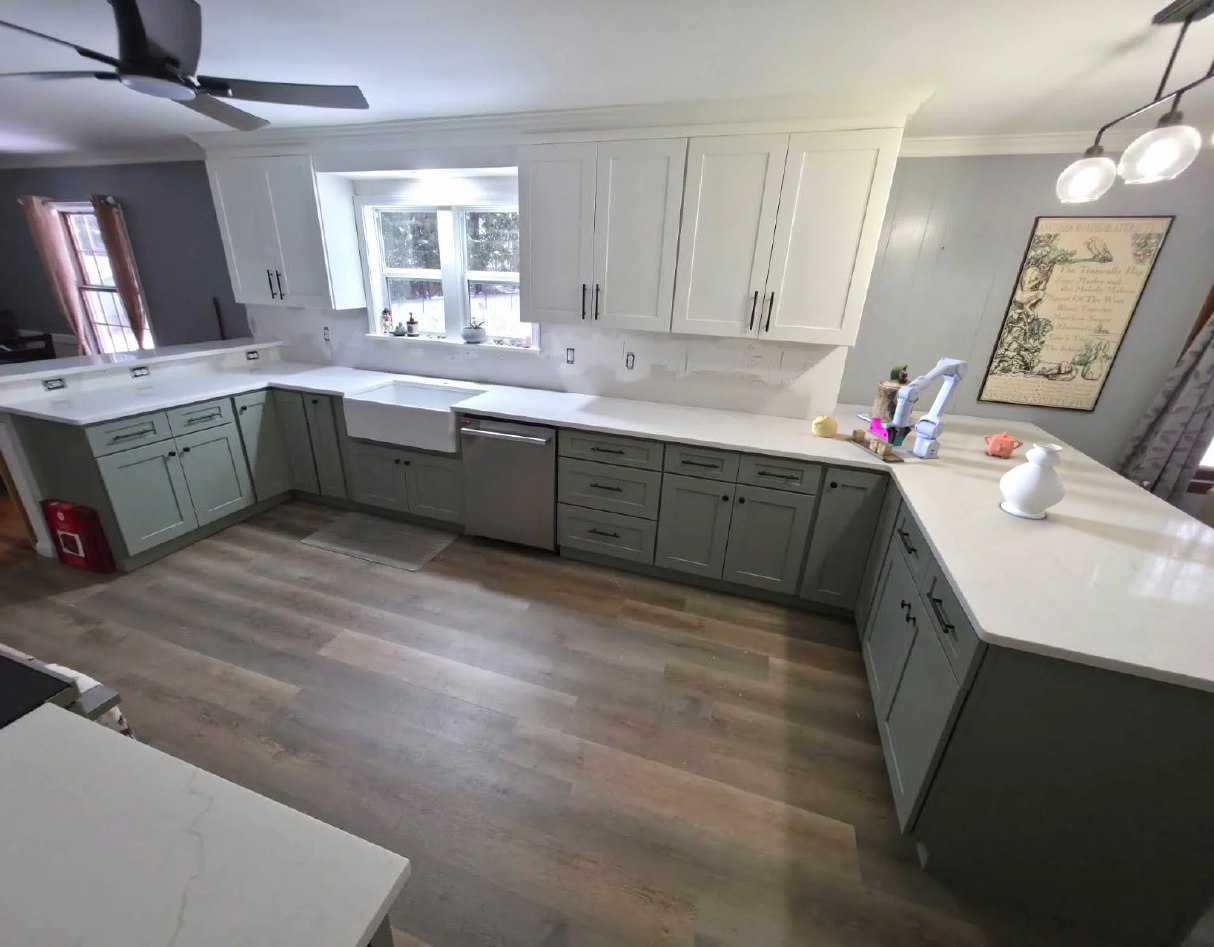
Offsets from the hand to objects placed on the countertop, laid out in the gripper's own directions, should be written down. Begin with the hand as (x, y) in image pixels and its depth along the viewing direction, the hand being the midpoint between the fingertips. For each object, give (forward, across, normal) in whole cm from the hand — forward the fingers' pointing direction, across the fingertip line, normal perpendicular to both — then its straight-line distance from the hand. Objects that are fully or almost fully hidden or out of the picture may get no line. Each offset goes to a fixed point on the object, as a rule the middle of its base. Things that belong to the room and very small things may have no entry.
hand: (894, 442), depth 221 cm
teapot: (+8, -55, +1) cm, 56 cm away
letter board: (+8, 0, -12) cm, 15 cm away
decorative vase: (+8, -14, +52) cm, 54 cm away
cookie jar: (+8, -39, -53) cm, 66 cm away
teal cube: (+1, 0, 0) cm, 1 cm away
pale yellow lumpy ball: (+8, +13, -34) cm, 37 cm away
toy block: (+8, -19, -31) cm, 37 cm away
